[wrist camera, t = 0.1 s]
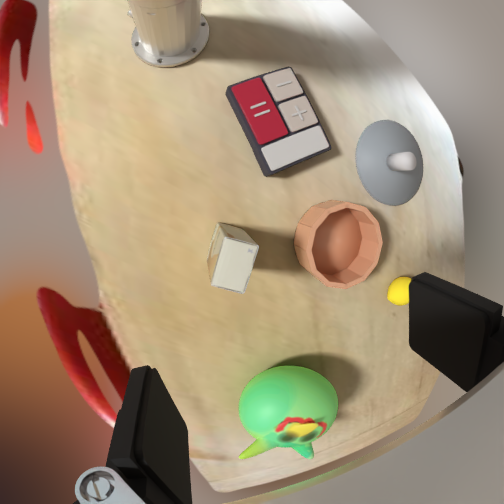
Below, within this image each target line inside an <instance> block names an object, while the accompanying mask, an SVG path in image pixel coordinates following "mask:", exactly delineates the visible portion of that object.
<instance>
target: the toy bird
mask: <svg viewBox="0 0 504 504" xmlns="http://www.w3.org/2000/svg"><path fill="white" fill-rule="evenodd" d="M337 411H338V397H337V394H336V391H335V389H334V387H333V386H332V384H331V383H330V382H329V381H328V380H327V379H326V378H325V377H323V376H322V375H320V374H319V373H317V372H315V371H313V370H311V369H308V368H304V367H300V366H279V367H274V368H270V369H268V370H265V371H263V372H261V373H260V374H258V375H257V376H255V377H254V378H253V379H252V380H251V381H250V382H249V383H248V384H247V385H246V387H245V388H244V390H243V392H242V394H241V397H240V401H239V416H240V420H241V422H242V424H243V426H244V428H245V429H246V430H247V432H248V433H249V434H250V435H252V436H253V437H254V438H256V439H257V440H256V441H255V442H254V443H253V444H251V445H250V446H249V447H248V448H247V449H246V450H244V451H243V452H242V453H241V454H240V456H239V458H240V459H246V458H250V457H253V456H256V455H258V454H261V453H263V452H265V451H268V450H270V449H272V448H275V447H292V448H293V449H294V450H296V451H297V452H298V453H299V454H301V455H302V456H304V457H305V458H307V459H312V458H313V457H314V452H313V448H312V444H311V442H312V441H314V440H316V439H318V438H319V437H321V436H322V435H323V434H325V433H326V432H327V431H328V430H329V428H330V427H331V426H332V424H333V422H334V420H335V418H336V415H337Z"/></svg>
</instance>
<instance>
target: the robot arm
mask: <svg viewBox="0 0 504 504" xmlns="http://www.w3.org/2000/svg"><path fill="white" fill-rule="evenodd" d="M127 1H128V4H129V7H130V10H129V11H128V13H127V15H128V16H130V17H132V18H133V19H134V22H135V25H136V27H135V29H134V31H133V33H132V39H131V40H132V47H133V50H134V52H135V54H136V55H137V56H138V58H139V59H140V60H142V61H143V62H145V63H147V64H149V65H152V66H156V67H173V66H178V65H181V64H184V63H186V62H188V61H190V60H192V59H193V58H195V57H196V56H197V55H198V54H200V52H201V51H202V50H203V49H204V47H205V46H206V44H207V41H208V38H209V26H208V23H207V21H206V19H205V18H204V17H203V16H202V15H201V6H202V0H127ZM137 45H138V46H137ZM194 51H195V52H194ZM193 52H194V53H193ZM159 62H161V63H159ZM502 309H503V306H502V305H500V304H498V303H496V302H493V301H491V300H489V299H487V298H485V297H482V296H480V295H478V294H475V293H473V292H471V291H469V290H466V289H464V288H462V287H460V286H457V285H455V284H453V283H450V282H448V281H445V280H443V279H441V278H438V277H436V276H433V275H431V274H429V273H426V272H424V273H421V274H419V275H417V276H415V277H413V278H412V279H411V282H410V283H409V345H410V347H411V349H412V350H413V351H415V352H416V353H417V354H419V355H420V356H421V357H422V358H424V359H425V360H426V361H428V362H429V363H430V364H431V365H433V366H434V367H435V368H436V369H438V370H439V371H440V372H442V373H443V374H444V375H446V376H447V377H448V378H449V379H451V380H452V381H453V382H454V383H456V384H457V385H458V386H459V387H461V388H462V389H463V390H465V391H466V392H467V393H466V394H464V395H463V396H462V397H461V398H459V399H458V400H456V401H455V402H454V403H453V404H451V405H450V406H448V407H447V408H445V409H444V410H442V411H441V412H440V413H438V414H437V415H435V416H434V417H432V418H431V419H429V420H428V421H426V422H424V423H423V424H421V425H420V426H418V427H416V428H415V429H413V430H412V431H410V432H408V433H406V434H405V435H403V436H401V437H400V438H398V439H396V440H394V441H392V442H391V443H389V444H387V445H385V446H383V447H381V448H379V449H377V450H375V451H374V452H372V453H370V454H368V455H365V456H363V457H361V458H359V459H357V460H355V461H353V462H351V463H348V464H346V465H344V466H342V467H339V468H337V469H334V470H332V471H330V472H327V473H324V474H322V475H320V476H317V477H314V478H312V479H309V480H306V481H303V482H300V483H297V484H294V485H291V486H288V487H285V488H282V489H279V490H275V491H272V492H268V493H264V494H261V495H257V496H254V497H249V498H245V499H241V500H237V501H233V502H228V503H223V504H504V317H503V316H502ZM75 494H76V497H77V499H78V500H77V501H76V502H74V503H73V504H192V495H191V483H190V466H189V446H188V430H187V426H186V423H185V422H184V420H183V418H182V416H181V415H180V413H179V411H178V409H177V407H176V405H175V404H174V402H173V400H172V398H171V396H170V394H169V392H168V391H167V389H166V387H165V385H164V383H163V381H162V379H161V377H160V375H159V373H158V371H157V369H156V368H153V369H151V367H150V366H148V365H147V366H142V367H138V368H133V369H132V371H131V374H130V378H129V381H128V385H127V389H126V392H125V396H124V400H123V404H122V408H121V410H119V412H118V415H117V419H116V423H115V427H114V431H113V436H112V440H111V444H110V448H109V453H108V458H107V462H106V467H95V468H92V469H89V470H87V471H86V472H84V473H83V474H82V475H81V476H80V478H79V479H78V480H77V483H76V485H75Z"/></svg>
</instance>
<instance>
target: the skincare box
mask: <svg viewBox="0 0 504 504" xmlns="http://www.w3.org/2000/svg"><path fill="white" fill-rule="evenodd" d="M258 249H259V246H258V245H257V244H256V242H255V241H254V240H253V239H252V238H251V237H250V236H249V235H248V234H247V233H246V232H245V231H244V230H243V229H240V228H237V227H234V226H231V225H227V224H223V223H219V222H218V223H217V225H216V228H215V231H214V234H213V237H212V241H211V244H210V248H209V252H208V256H207V263H208V269H209V276H210V282H211V285H212V286H215V287H218V288H222V289H225V290H229V291H233V292H237V293H241V294H243V293H245V290H246V287H247V284H248V281H249V278H250V275H251V271H252V268H253V265H254V262H255V258H256V255H257V252H258Z"/></svg>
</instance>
